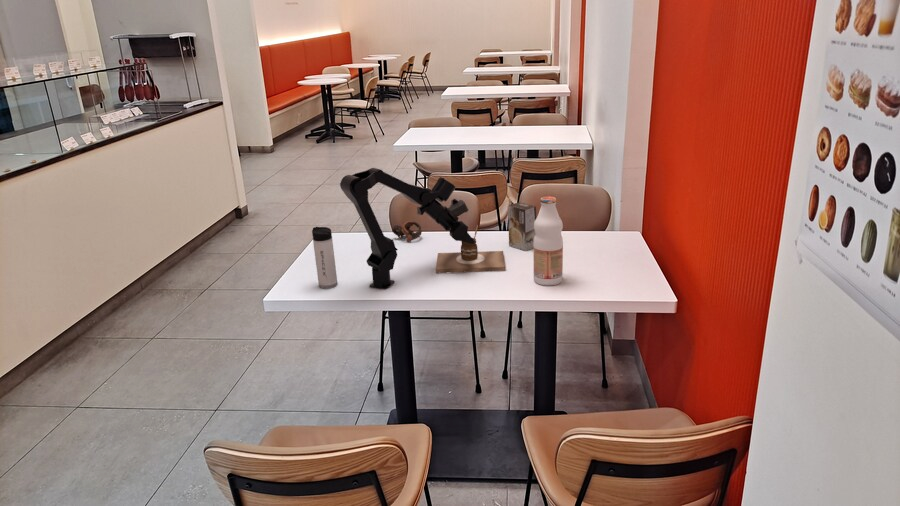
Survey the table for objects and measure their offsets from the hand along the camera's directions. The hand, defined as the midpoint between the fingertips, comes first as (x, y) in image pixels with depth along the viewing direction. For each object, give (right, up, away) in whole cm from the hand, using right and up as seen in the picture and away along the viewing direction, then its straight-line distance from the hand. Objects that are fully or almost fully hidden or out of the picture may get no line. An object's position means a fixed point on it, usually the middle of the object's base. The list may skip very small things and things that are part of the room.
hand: (469, 238), depth 223 cm
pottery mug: (-24, 0, +33) cm, 41 cm away
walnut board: (0, -9, +3) cm, 9 cm away
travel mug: (-48, -16, -9) cm, 52 cm away
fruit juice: (+25, -14, -14) cm, 32 cm away
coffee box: (+21, -3, +18) cm, 27 cm away
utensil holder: (0, -7, +2) cm, 8 cm away
